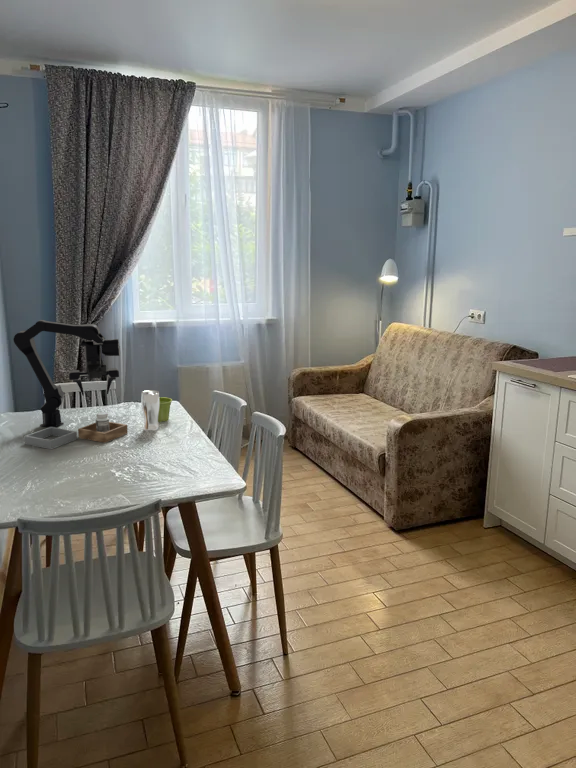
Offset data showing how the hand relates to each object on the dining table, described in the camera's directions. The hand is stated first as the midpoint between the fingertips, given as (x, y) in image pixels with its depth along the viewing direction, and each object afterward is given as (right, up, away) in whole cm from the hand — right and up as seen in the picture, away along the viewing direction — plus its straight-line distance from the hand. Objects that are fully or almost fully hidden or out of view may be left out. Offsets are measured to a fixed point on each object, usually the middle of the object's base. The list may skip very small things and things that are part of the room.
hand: (95, 394), depth 233 cm
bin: (-9, -17, -20) cm, 28 cm away
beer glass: (+23, -14, -3) cm, 27 cm away
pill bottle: (+7, -15, -12) cm, 21 cm away
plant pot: (+25, -11, +9) cm, 28 cm away
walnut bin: (+7, -15, -12) cm, 21 cm away
